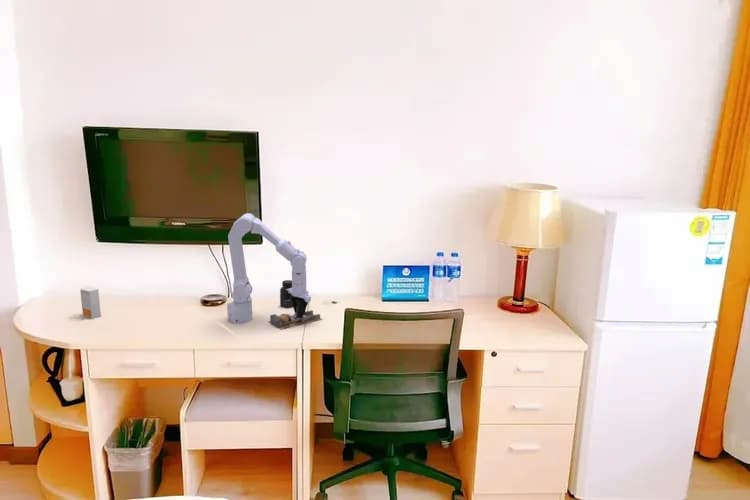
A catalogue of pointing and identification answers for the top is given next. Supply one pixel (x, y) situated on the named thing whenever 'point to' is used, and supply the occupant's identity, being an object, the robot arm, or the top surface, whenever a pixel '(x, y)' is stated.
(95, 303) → the skincare box
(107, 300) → the top surface
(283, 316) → the tan wooden ball
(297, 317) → the ram
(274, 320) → the bench
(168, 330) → the top surface
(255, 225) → the robot arm
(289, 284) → the supplement bottle
